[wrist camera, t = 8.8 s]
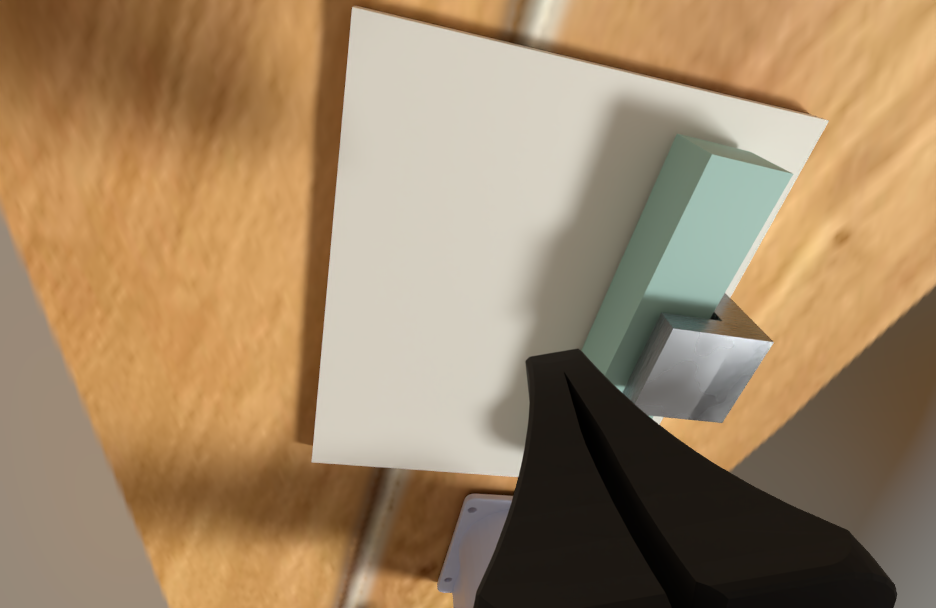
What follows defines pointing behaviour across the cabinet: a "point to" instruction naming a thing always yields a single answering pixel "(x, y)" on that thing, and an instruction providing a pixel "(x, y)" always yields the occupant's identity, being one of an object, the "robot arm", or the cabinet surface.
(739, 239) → the latch bar
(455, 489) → the cabinet surface
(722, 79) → the cabinet surface
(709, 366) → the block
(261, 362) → the cabinet surface
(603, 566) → the robot arm
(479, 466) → the board
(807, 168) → the cabinet surface
